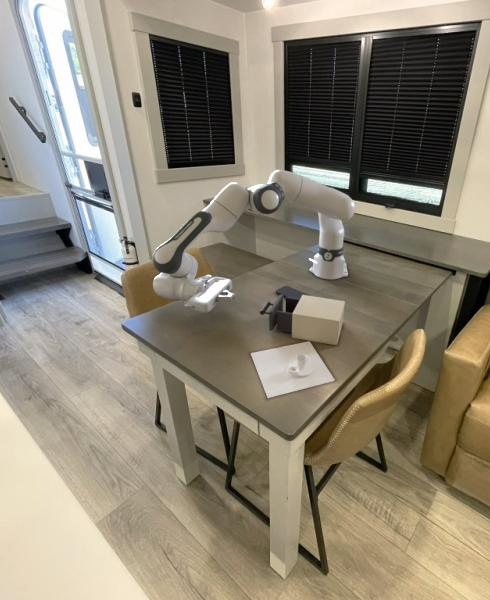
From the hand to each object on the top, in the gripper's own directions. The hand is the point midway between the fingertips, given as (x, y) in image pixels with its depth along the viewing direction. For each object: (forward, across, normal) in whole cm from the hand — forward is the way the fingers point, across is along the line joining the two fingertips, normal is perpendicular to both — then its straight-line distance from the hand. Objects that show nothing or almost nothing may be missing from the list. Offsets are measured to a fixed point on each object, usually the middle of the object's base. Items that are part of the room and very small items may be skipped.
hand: (233, 297), depth 117 cm
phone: (+16, +22, +8) cm, 29 cm away
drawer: (+20, 0, +7) cm, 22 cm away
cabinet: (+31, 0, +8) cm, 32 cm away
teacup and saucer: (+28, -21, +8) cm, 36 cm away
